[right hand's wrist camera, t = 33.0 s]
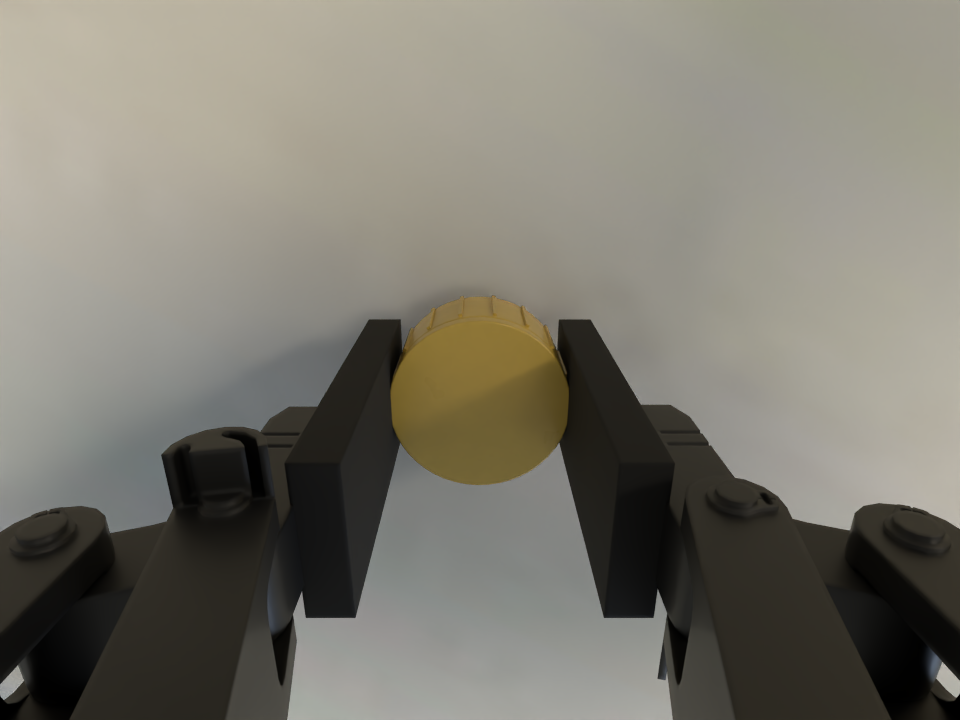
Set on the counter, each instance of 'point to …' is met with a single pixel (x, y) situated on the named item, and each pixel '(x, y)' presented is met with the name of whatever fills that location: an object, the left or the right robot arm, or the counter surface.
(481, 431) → the cap
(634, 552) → the right robot arm
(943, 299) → the counter surface
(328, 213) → the counter surface
